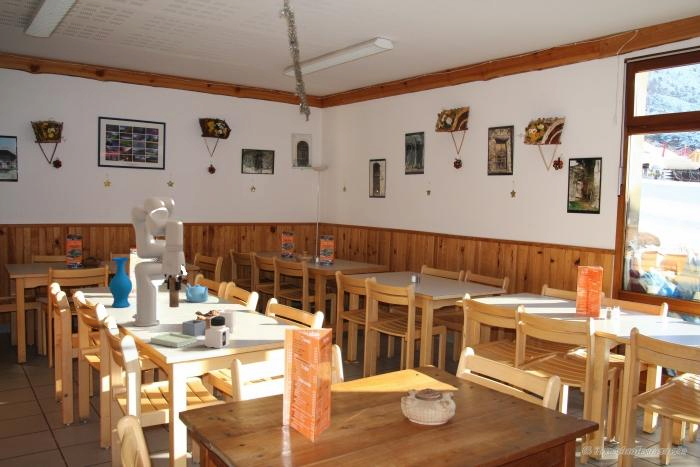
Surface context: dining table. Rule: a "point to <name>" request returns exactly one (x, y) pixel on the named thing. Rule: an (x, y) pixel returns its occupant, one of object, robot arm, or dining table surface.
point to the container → (217, 333)
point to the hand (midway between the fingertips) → (174, 289)
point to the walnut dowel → (173, 293)
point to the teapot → (196, 293)
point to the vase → (120, 284)
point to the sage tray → (173, 339)
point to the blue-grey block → (194, 328)
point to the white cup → (229, 318)
